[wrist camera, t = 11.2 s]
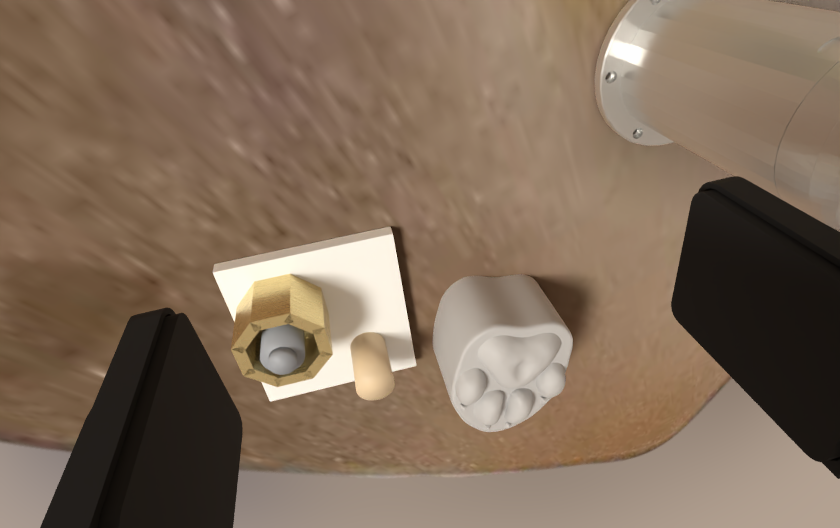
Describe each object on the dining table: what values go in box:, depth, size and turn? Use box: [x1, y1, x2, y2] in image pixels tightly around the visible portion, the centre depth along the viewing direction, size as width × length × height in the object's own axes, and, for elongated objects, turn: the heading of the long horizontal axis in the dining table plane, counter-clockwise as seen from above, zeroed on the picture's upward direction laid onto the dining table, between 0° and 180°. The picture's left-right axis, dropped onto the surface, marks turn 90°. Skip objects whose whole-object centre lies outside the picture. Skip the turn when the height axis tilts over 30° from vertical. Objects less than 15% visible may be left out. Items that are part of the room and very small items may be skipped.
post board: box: [213, 227, 416, 402], centre depth 41 cm, size 14×15×8 cm
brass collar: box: [231, 274, 333, 387], centre depth 40 cm, size 7×7×5 cm
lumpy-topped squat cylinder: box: [433, 274, 573, 432], centre depth 46 cm, size 10×13×9 cm
